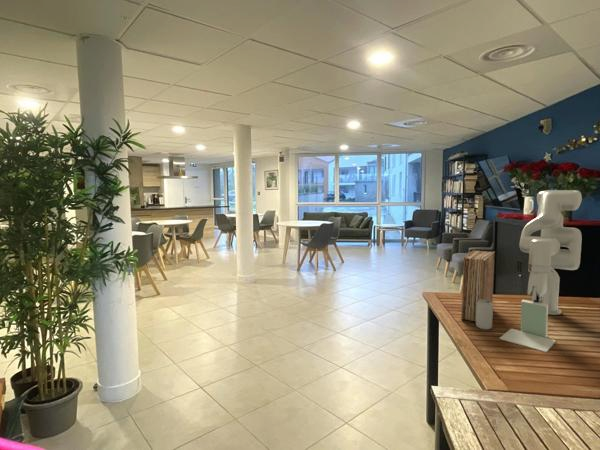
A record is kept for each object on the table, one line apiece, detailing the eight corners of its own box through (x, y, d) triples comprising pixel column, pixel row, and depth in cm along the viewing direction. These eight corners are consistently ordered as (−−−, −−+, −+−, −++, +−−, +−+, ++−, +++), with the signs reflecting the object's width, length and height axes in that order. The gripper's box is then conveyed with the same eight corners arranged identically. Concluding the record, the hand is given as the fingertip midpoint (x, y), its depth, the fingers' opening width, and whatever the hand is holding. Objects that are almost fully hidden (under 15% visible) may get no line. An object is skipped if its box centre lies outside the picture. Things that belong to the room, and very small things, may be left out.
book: (482, 324, 155) (486, 259, 152) (460, 320, 161) (463, 257, 158) (492, 308, 175) (494, 250, 172) (472, 305, 181) (474, 249, 178)
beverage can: (494, 330, 148) (495, 303, 147) (477, 329, 150) (479, 303, 148) (489, 325, 154) (490, 299, 153) (473, 324, 156) (475, 298, 155)
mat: (511, 329, 150) (511, 328, 150) (555, 341, 138) (555, 340, 138) (499, 339, 140) (499, 338, 140) (546, 352, 128) (546, 351, 128)
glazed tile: (522, 329, 149) (522, 299, 146) (547, 335, 142) (548, 304, 139) (520, 331, 148) (520, 301, 145) (545, 338, 141) (546, 306, 138)
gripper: (533, 264, 151) (531, 305, 153) (523, 270, 141) (520, 313, 143) (554, 267, 146) (551, 309, 147) (545, 273, 136) (542, 318, 137)
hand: (536, 311), depth 145 cm, fingers closed
